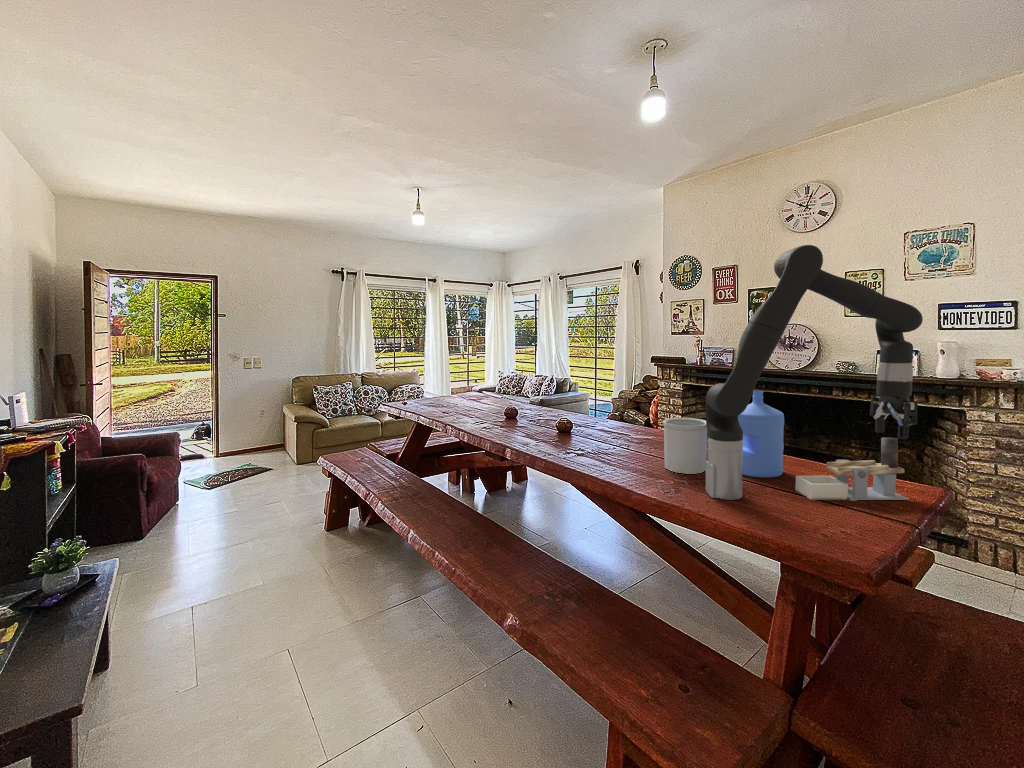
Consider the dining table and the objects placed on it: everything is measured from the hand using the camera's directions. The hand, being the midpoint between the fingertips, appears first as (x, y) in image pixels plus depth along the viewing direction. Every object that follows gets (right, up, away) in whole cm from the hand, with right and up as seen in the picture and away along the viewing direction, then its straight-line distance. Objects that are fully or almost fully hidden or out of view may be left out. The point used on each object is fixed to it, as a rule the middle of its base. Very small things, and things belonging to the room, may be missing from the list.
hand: (890, 435), depth 125 cm
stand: (-5, -17, +2) cm, 18 cm away
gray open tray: (-18, -18, +4) cm, 25 cm away
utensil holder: (-46, -16, +32) cm, 58 cm away
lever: (-6, -10, +2) cm, 12 cm away
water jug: (-23, -16, +27) cm, 39 cm away
